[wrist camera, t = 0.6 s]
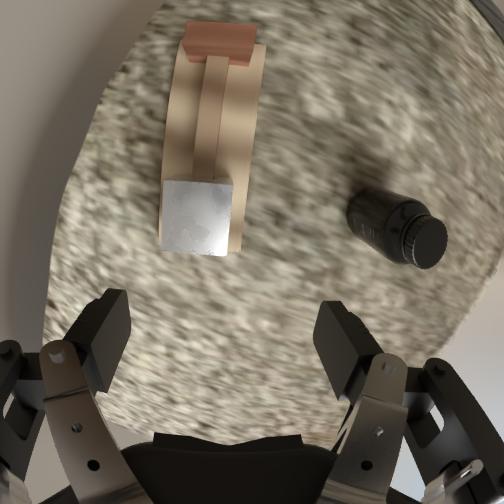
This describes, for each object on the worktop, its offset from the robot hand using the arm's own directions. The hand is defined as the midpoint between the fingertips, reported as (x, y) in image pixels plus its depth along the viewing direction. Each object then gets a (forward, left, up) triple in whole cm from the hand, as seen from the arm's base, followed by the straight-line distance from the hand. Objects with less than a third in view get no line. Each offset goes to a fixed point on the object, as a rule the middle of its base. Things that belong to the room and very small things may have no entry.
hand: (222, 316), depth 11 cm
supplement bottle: (-2, +18, -21) cm, 27 cm away
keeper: (-1, -2, -18) cm, 19 cm away
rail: (-7, -2, -20) cm, 22 cm away
